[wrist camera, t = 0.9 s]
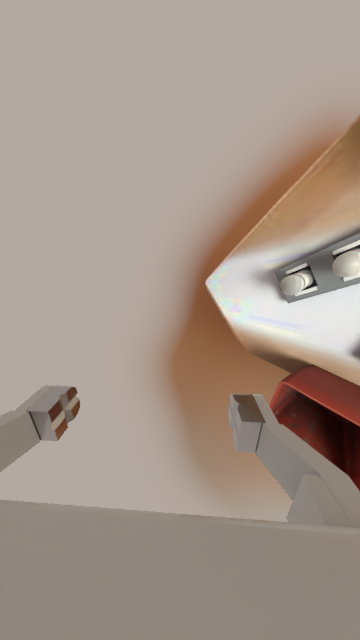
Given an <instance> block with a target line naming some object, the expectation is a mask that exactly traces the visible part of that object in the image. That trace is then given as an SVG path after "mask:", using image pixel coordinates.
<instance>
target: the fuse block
mask: <svg viewBox="0 0 360 640" xmlns="http://www.w3.org/2000/svg"><path fill="white" fill-rule="evenodd" d="M358 245H360V233H358V234H356V235H354V236H352V237H349V238H347V239H345V240H343V241H341V242H338V243H336V244H334V245H332V246H330V247H327V248H325V249H323V250H321V251H319V252H316V253H314V254H312V255H310V256H308V257H305V258H303V259H301V260H299V261H296V262H294V263H292V264H290V265H288V266H285V267H283V268H281V269H279V270H277V271H275V273H276V275H277V278H278V280H279V282H280V283H281V281H282V280H283V279H284V278H285V277H287V276H289V275H291V274H290V273H292V272H295V271H297V270H300V269H302V268H304V267H307V266H309V265H310V268H311V270H312V273H313V275H314V278H315V280H316V282H317V285H315V286H312V287H309V288H306V289H303V290H302V291H300V292H299V293H297V294H295V295H286V294H284V295H285V297H286V300H287V302H288V303H291V302H295V301H298V300H302V299H305V298H309V297H312V296H316V295H319V294H323V293H326V292H330V291H333V290H337V289H341V288H344V287H348V286H351V285H355V284H358V283H360V273H359V274H358V275H355V276H352V277H340V276H338V275H336V274H335V273H334V272H333V270H332V265H333V262H334V261H335V259H336V256H335V255H336V254H338V253H341V252H343V251H346V250H348V249H350V248H353V247H355V246H358Z"/></svg>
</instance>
